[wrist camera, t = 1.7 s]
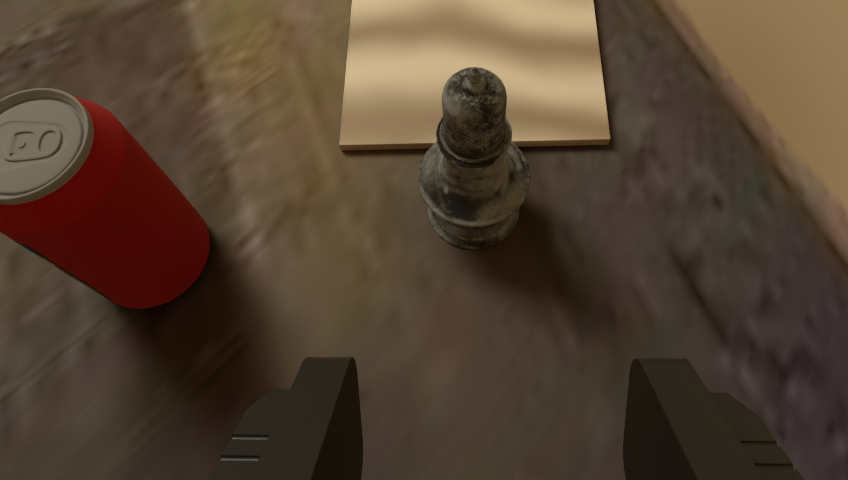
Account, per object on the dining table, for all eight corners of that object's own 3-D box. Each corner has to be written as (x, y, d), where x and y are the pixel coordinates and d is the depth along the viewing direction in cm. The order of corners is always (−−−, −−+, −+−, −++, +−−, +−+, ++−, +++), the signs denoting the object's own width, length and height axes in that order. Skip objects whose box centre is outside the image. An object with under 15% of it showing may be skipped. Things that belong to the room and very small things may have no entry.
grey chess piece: (510, 154, 37) (526, 0, 26) (537, 242, 35) (567, 112, 24) (413, 174, 37) (389, 28, 26) (433, 264, 35) (416, 143, 24)
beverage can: (109, 210, 38) (-39, 81, 27) (220, 201, 37) (117, 66, 26) (91, 319, 35) (-83, 223, 24) (211, 309, 34) (91, 208, 24)
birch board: (608, 144, 37) (610, 139, 37) (341, 150, 38) (339, 144, 38) (584, -50, 44) (586, -57, 43) (357, -40, 45) (356, -47, 44)
